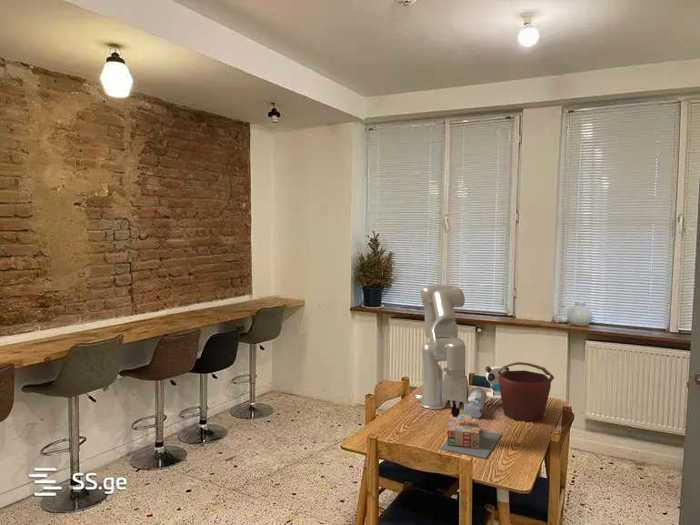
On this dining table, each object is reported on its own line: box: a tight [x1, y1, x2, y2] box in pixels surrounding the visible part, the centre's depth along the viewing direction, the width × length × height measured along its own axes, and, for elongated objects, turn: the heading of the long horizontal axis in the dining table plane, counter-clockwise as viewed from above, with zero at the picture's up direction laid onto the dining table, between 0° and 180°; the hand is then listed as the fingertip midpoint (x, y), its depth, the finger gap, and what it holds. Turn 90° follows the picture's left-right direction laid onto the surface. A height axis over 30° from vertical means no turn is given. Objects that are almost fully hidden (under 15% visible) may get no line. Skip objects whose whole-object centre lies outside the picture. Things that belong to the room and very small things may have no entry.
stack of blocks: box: [447, 412, 480, 448], centre depth 216 cm, size 21×6×12 cm
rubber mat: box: [439, 429, 502, 460], centre depth 212 cm, size 18×26×1 cm
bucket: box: [498, 361, 555, 423], centre depth 241 cm, size 24×22×25 cm
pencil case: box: [463, 386, 487, 419], centre depth 248 cm, size 21×9×10 cm, turn 161°
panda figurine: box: [484, 365, 510, 399], centre depth 273 cm, size 12×11×15 cm
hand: (455, 416), depth 215 cm, fingers closed
